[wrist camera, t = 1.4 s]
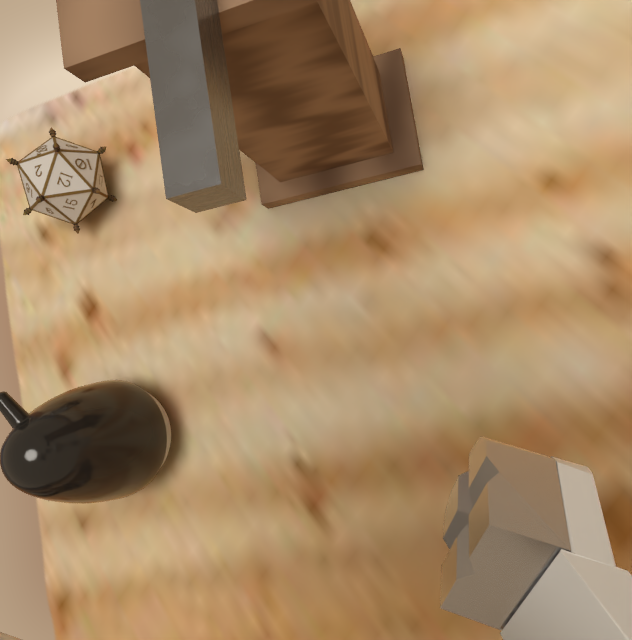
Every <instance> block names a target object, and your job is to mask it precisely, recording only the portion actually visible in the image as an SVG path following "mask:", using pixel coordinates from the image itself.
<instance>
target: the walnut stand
mask: <svg viewBox="0 0 632 640" xmlns="http://www.w3.org/2000/svg"><path fill="white" fill-rule="evenodd" d="M56 2H57V12H58V20H59V29H60V37H61V46H62V55H63V63H64V69H66V70H67V71H69V72H70V73H72V74H73V75H75V76H76V77H78V78H79V79H81V80H82V81H84V82H88V81H91V80H93V79H96V78H99V77H102V76H105V75H108V74H111V73H114V72H116V71H119V70H122V69H125V68H128V67H131V66H136V67H137V68H138V69H139V70H141V71H142V72H143V73H144V74H146V75H147V76H148V77H149V78H150V72H149V65H148V57H147V50H146V42H145V35H144V27H143V20H142V12H141V4H140V0H56ZM217 3H218V10H219V17H220V23H221V30H222V37H223V44H224V51H225V57H226V64H227V71H228V78H229V84H230V91H231V98H232V105H233V112H234V118H235V125H236V132H237V139H238V146H239V150H241V151H242V152H243V153H244V154H246V155H247V156H248V157H249V158H251V159H252V160H253V161H254V162H256V169H257V176H258V182H259V189H260V196H261V202H262V205H264V206H265V207H267V208H272V207H276V206H280V205H284V204H288V203H292V202H296V201H300V200H304V199H308V198H312V197H316V196H320V195H324V194H328V193H332V192H336V191H340V190H344V189H348V188H352V187H356V186H360V185H364V184H368V183H372V182H376V181H380V180H384V179H388V178H392V177H396V176H400V175H404V174H408V173H412V172H416V171H420V170H423V165H422V160H421V154H420V149H419V143H418V137H417V132H416V126H415V121H414V115H413V110H412V104H411V99H410V93H409V88H408V82H407V77H406V71H405V66H404V60H403V56H402V52H401V49H400V48H399V49H396V50H393V51H390V52H387V53H383V54H380V55H377V56H374V57H373V55H372V53H371V50H370V48H369V46H368V43H367V41H366V38H365V36H364V33H363V31H362V29H361V26H360V24H359V21H358V19H357V16H356V14H355V12H354V9H353V7H352V4H351V2H350V0H217Z"/></svg>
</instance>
